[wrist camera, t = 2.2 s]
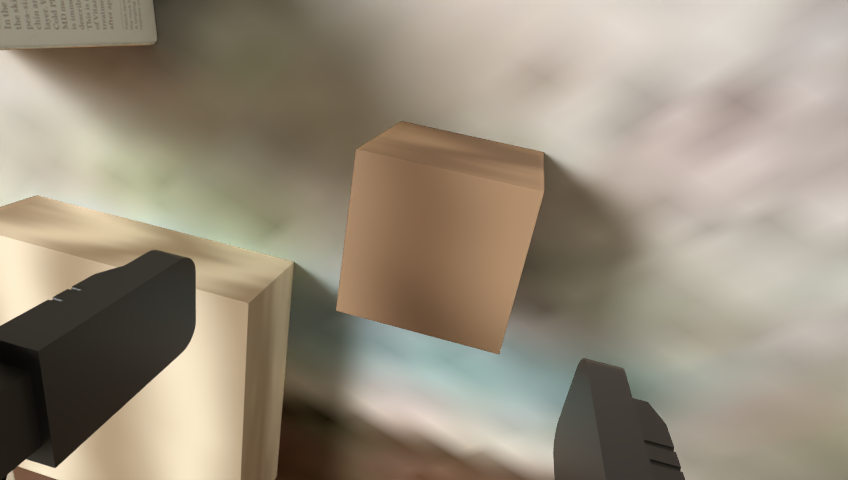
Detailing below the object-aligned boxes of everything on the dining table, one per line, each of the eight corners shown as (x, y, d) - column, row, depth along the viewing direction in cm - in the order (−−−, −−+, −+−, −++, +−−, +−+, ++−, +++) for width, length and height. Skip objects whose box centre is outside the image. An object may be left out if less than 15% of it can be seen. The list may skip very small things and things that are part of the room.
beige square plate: (298, 257, 22) (248, 303, 18) (280, 470, 26) (237, 540, 23) (45, 192, 23) (-48, 222, 20) (70, 404, 28) (-1, 459, 24)
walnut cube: (543, 151, 18) (544, 191, 13) (509, 280, 20) (499, 354, 15) (402, 120, 18) (356, 149, 14) (382, 248, 20) (336, 310, 16)
